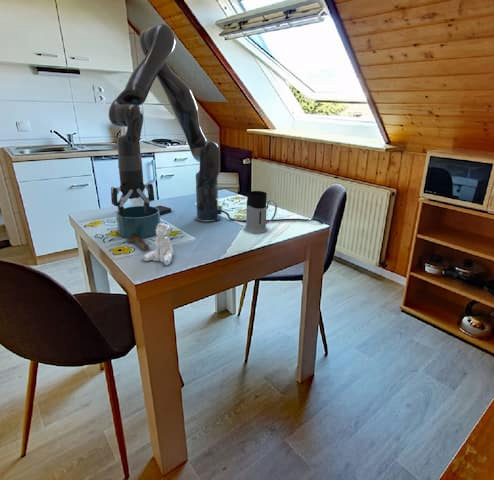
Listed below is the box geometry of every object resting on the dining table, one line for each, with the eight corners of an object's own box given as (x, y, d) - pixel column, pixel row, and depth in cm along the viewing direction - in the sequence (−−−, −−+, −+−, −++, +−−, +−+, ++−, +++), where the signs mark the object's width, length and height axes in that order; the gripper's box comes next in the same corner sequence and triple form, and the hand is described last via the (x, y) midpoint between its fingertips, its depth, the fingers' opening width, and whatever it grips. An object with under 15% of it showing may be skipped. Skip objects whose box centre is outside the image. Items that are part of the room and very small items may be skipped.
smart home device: (171, 208, 161) (136, 218, 146) (172, 211, 161) (136, 222, 147) (160, 204, 165) (124, 214, 151) (160, 208, 166) (125, 218, 151)
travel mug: (254, 224, 145) (256, 189, 140) (281, 233, 136) (284, 195, 130) (240, 229, 139) (241, 193, 134) (267, 238, 130) (269, 200, 124)
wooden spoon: (152, 249, 120) (152, 243, 119) (140, 252, 118) (140, 246, 117) (137, 237, 130) (137, 232, 129) (126, 240, 127) (126, 235, 127)
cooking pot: (164, 224, 144) (163, 206, 141) (154, 238, 129) (153, 218, 126) (126, 223, 145) (124, 205, 142) (112, 237, 130) (109, 217, 127)
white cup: (150, 206, 169) (148, 186, 165) (141, 210, 162) (139, 189, 159) (136, 204, 172) (134, 185, 168) (127, 209, 165) (125, 188, 161)
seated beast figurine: (142, 261, 111) (139, 225, 106) (157, 251, 118) (154, 217, 114) (168, 266, 108) (165, 229, 103) (181, 255, 115) (179, 221, 111)
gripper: (112, 171, 107) (118, 221, 113) (155, 167, 115) (158, 214, 121) (105, 168, 113) (110, 215, 119) (146, 164, 121) (149, 209, 127)
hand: (134, 214), depth 120 cm, fingers open, 8 cm apart
